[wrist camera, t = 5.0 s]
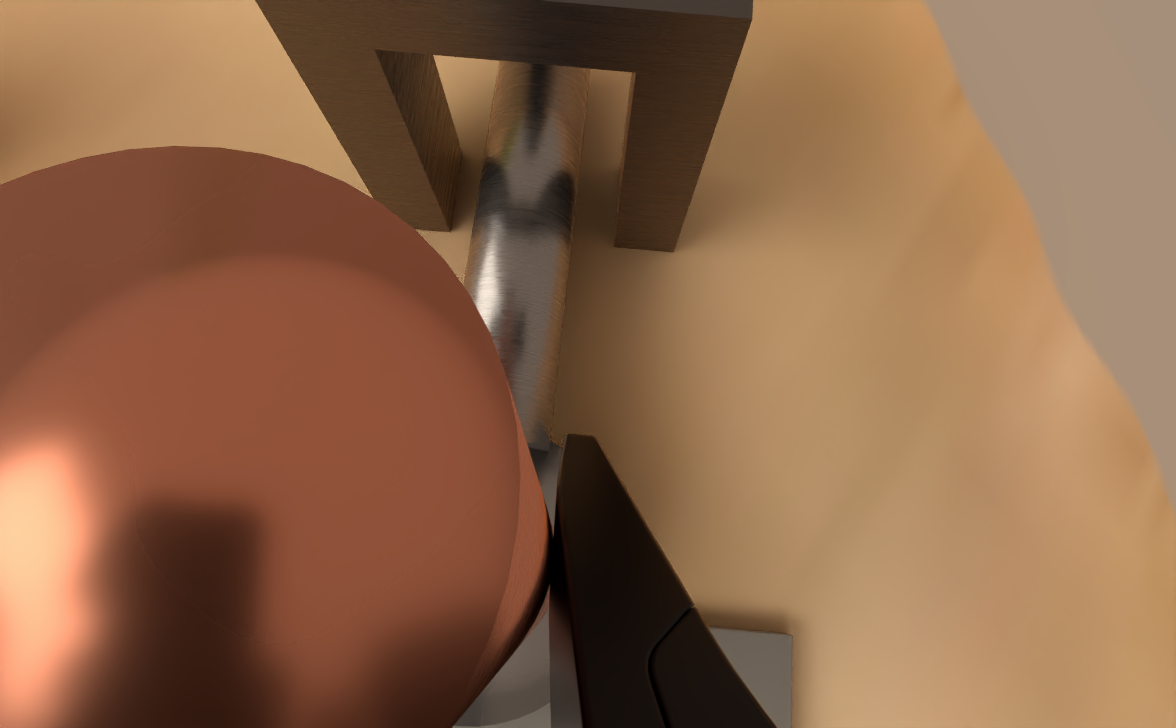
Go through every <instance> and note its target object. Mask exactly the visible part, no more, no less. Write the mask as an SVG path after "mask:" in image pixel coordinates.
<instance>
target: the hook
mask: <svg viewBox="0 0 1176 728" xmlns="http://www.w3.org/2000/svg"><path fill="white" fill-rule="evenodd" d="M589 75H590V68H578V67H567V66H556V65H544V64H533V63H522V62H510V61H499V67H498V73H497V79H496V86H495V92H494V98H493V105H492V111H491V117H490V123H489V130H488V136H487V142H486V148H485V155H484V161H483V167H482V173H481V180H480V186H479V192H478V198H477V205H476V211H475V217H474V223H473V230H472V236H471V242H470V248H469V255H468V261H467V267H466V274H465V280H464V286H463V285H462V283H461V282H460V281H459V279H458V278H457V277H456V275H455V274H454V272H453V271H452V270H451V268H450V267H449V266H448V264H447V263H446V262H445V260H444V259H443V258H442V257H441V256H440V255H439V254H438V253H437V252H436V251H435V250H434V249H433V248H432V247H431V246H430V245H429V244H428V243H427V242H426V241H425V240H424V239H423V237H422V236H421V235H420V234H419V233H418V232H417V231H416V230H415V229H414V228H412V227H411V226H410V225H408V224H407V223H406V222H405V221H403V220H402V219H401V218H399V217H398V216H397V215H396V214H394V213H393V212H392V211H390V210H389V209H388V208H386V207H385V206H384V205H383V204H381V203H380V202H378V201H376V200H375V199H373V198H371V197H369V196H368V195H366V194H364V193H362V192H361V191H359V190H357V189H355V188H354V187H352V186H350V185H349V184H347V183H345V182H343V181H341V180H338V179H336V178H333V177H331V176H329V175H326V174H324V173H321V172H319V171H317V170H314V169H312V168H309V167H307V166H304V165H301V164H297V163H293V162H290V161H286V160H282V159H279V158H275V157H271V156H268V155H264V154H258V153H252V152H245V151H238V150H232V149H225V148H214V147H185V146H170V147H156V148H143V149H130V150H123V151H118V152H112V153H107V154H101V155H96V156H90V157H85V158H80V159H77V160H73V161H70V162H66V163H63V164H59V165H56V166H52V167H49V168H45V169H42V170H38V171H35V172H32V173H30V174H27V175H25V176H22V177H20V178H17V179H15V180H12V181H10V182H7V183H4V184H2V185H0V728H452V727H453V726H465V727H479V726H487V725H496V724H500V723H504V722H508V721H511V720H515V719H518V718H521V717H523V716H525V715H528V714H530V713H532V712H535V711H537V710H538V709H540V708H542V707H543V706H545V705H547V704H548V703H550V656H549V591H550V577H551V567H552V548H553V534H554V520H555V505H556V491H557V480H558V474H559V467H560V461H561V455H562V448H561V447H559V446H558V445H556V444H554V443H553V442H551V441H550V437H551V428H552V418H553V409H554V400H555V391H556V381H557V372H558V363H559V354H560V344H561V335H562V326H563V316H564V307H565V298H566V289H567V279H568V270H569V261H570V252H571V242H572V233H573V224H574V214H575V205H576V196H577V187H578V177H579V168H580V159H581V150H582V140H583V131H584V122H585V112H586V103H587V94H588V85H589Z"/></svg>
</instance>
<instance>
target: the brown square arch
mask: <svg viewBox="0 0 1176 728" xmlns="http://www.w3.org/2000/svg"><path fill="white" fill-rule="evenodd" d="M255 1H256V2H257V4H258V6H259V7H260V9H261V11H262V12H263V14H264V16H265V17H266V19H267V21H268V22H269V24H270V26H271V27H272V29H273V31H274V32H275V34H276V36H277V37H278V39H279V41H280V42H281V44H282V46H283V47H284V49H285V51H286V52H287V54H288V56H289V57H290V59H291V61H292V63H293V64H294V66H295V68H296V69H297V71H298V73H299V74H300V76H301V78H302V79H303V81H304V83H305V84H306V86H307V88H308V89H309V91H310V93H311V94H312V96H313V98H314V99H315V101H316V103H317V104H318V106H319V108H320V109H321V111H322V113H323V114H324V116H325V118H326V120H327V121H328V123H329V125H330V126H331V128H332V130H333V131H334V133H335V135H336V136H337V138H338V140H339V141H340V143H341V145H342V146H343V148H344V150H345V151H346V153H347V155H348V156H349V158H350V160H351V161H352V163H353V165H354V166H355V168H356V170H357V171H358V173H359V175H360V176H361V178H362V180H363V182H364V183H365V185H366V187H367V188H368V190H369V192H370V193H371V195H372V197H373V198H374V199H375V200H376V201H378V202H380V203H381V204H383V205H384V206H385V207H386V208H388V209H389V210H390V211H392V212H393V213H394V214H396V215H397V216H398V217H399V218H401V219H402V220H403V221H405V222H406V223H407V224H408V225H410V226H411V227H412V228H414V229H421V230H432V231H444V232H450V228H451V222H452V215H453V208H454V202H455V195H456V189H457V182H458V176H459V169H460V163H461V156H462V151H461V147H460V144H459V141H458V137H457V134H456V130H455V127H454V124H453V120H452V117H451V114H450V110H449V107H448V103H447V100H446V97H445V93H444V90H443V87H442V83H441V80H440V77H439V73H438V70H437V66H436V63H435V60H434V56H433V55H442V56H454V57H465V58H476V59H488V60H499V61H510V62H522V63H533V64H544V65H556V66H567V67H578V68H590V69H601V70H612V71H624V72H632V75H631V83H630V92H629V100H628V108H627V117H626V125H625V134H624V142H623V150H622V159H621V167H620V179H619V191H618V202H617V214H616V225H615V237H614V247H622V248H633V249H644V250H655V251H666V252H674V249H675V246H676V243H677V240H678V237H679V234H680V231H681V228H682V225H683V222H684V219H685V216H686V213H687V210H688V207H689V204H690V201H691V198H692V195H693V192H694V189H695V187H696V184H697V181H698V178H699V175H700V172H701V169H702V166H703V163H704V160H705V157H706V154H707V151H708V148H709V145H710V142H711V139H712V136H713V133H714V130H715V127H716V124H717V122H718V119H719V116H720V113H721V110H722V107H723V104H724V101H725V98H726V95H727V92H728V89H729V86H730V83H731V80H732V77H733V74H734V71H735V68H736V65H737V62H738V60H739V57H740V54H741V51H742V48H743V45H744V42H745V39H746V36H747V33H748V30H749V27H750V24H751V21H752V12H753V0H255Z"/></svg>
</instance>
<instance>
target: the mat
mask: <svg viewBox="0 0 1176 728" xmlns="http://www.w3.org/2000/svg"><path fill="white" fill-rule="evenodd" d="M708 628H709V629H710V631H711V633H712V635H713V636H714V638H715V639H716V641H717V642H718V644H719V645H720V647H721V649H722V650H723V652H724V653H725V655H726V656H727V658H728V660H729V661H730V663H731V664H732V666H733V667H734V669H735V670H736V672H737V673H738V675H739V676H740V677H741V679H742V680H743V681H744V683H745V684H746V686H747V687H748V688H749V690H750V691H751V692H752V694H753V695H754V697H755V698H756V699H757V701H758V702H759V703H760V705H761V706H762V708H763V709H764V710H765V712H766V713H767V714H768V716H769V717H770V718H771V719H772V721H773V722H774V723H775V725H776V726H777V727H778V728H791V714H792V638H793V636H792V635H789V634H787V633H776V632H765V631H755V630H744V629H733V628H723V627H712V626H708ZM452 728H551V710H550V703H548V704H547V705H545V706H543V707H542V708H540V709H538V710H537V711H535V712H532V713H530V714H528V715H525V716H523V717H521V718H518V719H515V720H511V721H508V722H504V723H500V724H496V725H487V726H479V727H465V726H453V727H452Z"/></svg>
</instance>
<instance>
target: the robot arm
mask: <svg viewBox="0 0 1176 728" xmlns="http://www.w3.org/2000/svg"><path fill="white" fill-rule="evenodd" d="M549 656H550V710H551V728H778V727H777V726H776V725H775V723H774V722H773V721H772V719H771V718H770V717H769V716H768V714H767V713H766V712H765V710H764V709H763V708H762V706H761V705H760V703H759V702H758V701H757V699H756V698H755V697H754V695H753V694H752V692H751V691H750V690H749V688H748V687H747V686H746V684H745V683H744V681H743V680H742V679H741V677H740V676H739V675H738V673H737V672H736V670H735V669H734V667H733V666H732V664H731V663H730V661H729V660H728V658H727V656H726V655H725V653H724V652H723V650H722V649H721V647H720V645H719V644H718V642H717V641H716V639H715V638H714V636H713V635H712V633H711V631H710V629H709V628H708V626H707V624H706V623H705V621H704V619H703V617H702V616H701V614H700V612H699V611H698V609H697V608H694V603H693V601H692V599H691V598H690V596H689V594H688V593H687V591H686V589H685V587H684V586H683V584H682V582H681V581H680V579H679V577H678V576H677V574H676V572H675V571H674V569H673V567H672V565H671V564H670V562H669V560H668V559H667V557H666V555H665V554H664V552H663V550H662V548H661V547H660V545H659V543H658V542H657V540H656V538H655V537H654V535H653V533H652V532H651V530H650V528H649V526H648V525H647V523H646V521H645V520H644V518H643V516H642V515H641V513H640V511H639V510H638V508H637V506H636V504H635V503H634V501H633V499H632V498H631V496H630V494H629V493H628V491H627V489H626V488H625V486H624V484H623V482H622V481H621V479H620V477H619V476H618V474H617V472H616V471H615V469H614V467H613V465H612V464H611V462H610V460H609V459H608V457H607V455H606V454H605V452H604V450H603V449H602V447H601V445H600V443H599V442H598V440H597V439H596V438H595V437H594V436H588V435H577V434H568V435H566V436H565V437H564V442H563V448H562V455H561V461H560V467H559V474H558V480H557V491H556V505H555V520H554V534H553V548H552V567H551V577H550V591H549Z"/></svg>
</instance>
